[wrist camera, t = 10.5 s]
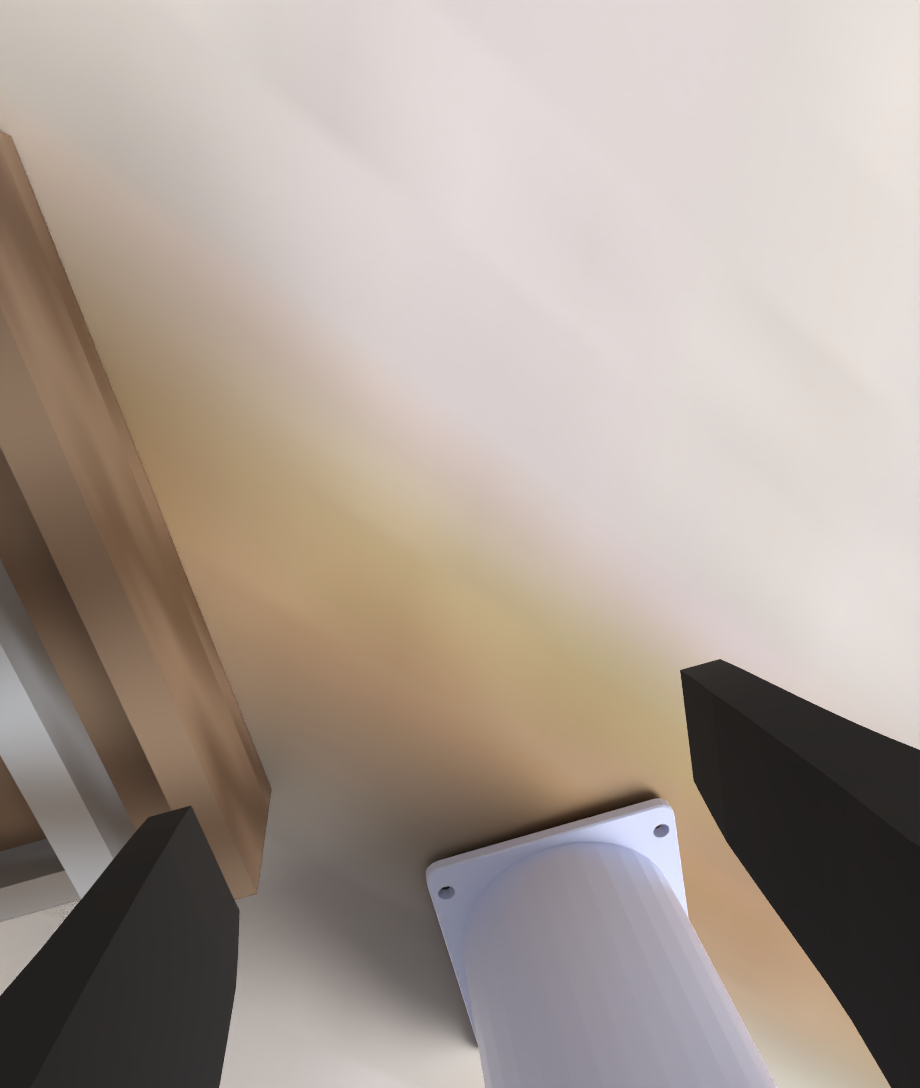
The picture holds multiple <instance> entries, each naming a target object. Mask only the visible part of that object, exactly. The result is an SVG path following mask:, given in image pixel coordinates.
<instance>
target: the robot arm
mask: <svg viewBox="0 0 920 1088" xmlns="http://www.w3.org/2000/svg"><path fill="white" fill-rule="evenodd" d="M680 672H681V680H682V688H683V696H684V705H685V713H686V721H687V729H688V737H689V745H690V754H691V762H692V770H693V778H694V782H695V784H696V786H697V788H698V790H699V792H700V794H701V795H702V797H703V799H704V801H705V803H706V805H707V807H708V809H709V811H710V812H711V814H712V816H713V818H714V820H715V822H716V823H717V825H718V827H719V829H720V831H721V832H722V834H723V836H724V838H725V839H726V841H727V843H728V844H729V846H730V847H731V849H732V850H733V852H734V853H735V855H736V856H737V857H738V859H739V860H740V862H741V863H742V865H743V866H744V867H745V869H746V870H747V872H748V873H749V874H750V876H751V877H752V879H753V880H754V882H755V883H756V884H757V886H758V887H759V889H760V890H761V892H762V893H763V894H764V896H765V897H766V899H767V900H768V901H769V903H770V904H771V906H772V907H773V908H774V910H775V911H776V913H777V914H778V915H779V917H780V918H781V919H782V921H783V922H784V924H785V925H786V926H787V928H788V929H789V931H790V932H791V933H792V935H793V936H794V938H795V939H796V940H797V942H798V943H799V945H800V946H801V947H802V949H803V950H804V952H805V953H806V955H807V956H808V957H809V959H810V960H811V962H812V963H813V964H814V966H815V967H816V969H817V970H818V971H819V973H820V974H821V976H822V977H823V978H824V980H825V981H826V983H827V984H828V985H829V987H830V988H831V990H832V991H833V993H834V994H835V996H836V997H837V999H838V1001H839V1002H840V1004H841V1005H842V1007H843V1008H844V1010H845V1011H846V1013H847V1014H848V1016H849V1017H850V1019H851V1020H852V1022H853V1024H854V1025H855V1027H856V1029H857V1030H858V1032H859V1034H860V1035H861V1037H862V1039H863V1040H864V1042H865V1044H866V1046H867V1047H868V1049H869V1051H870V1052H871V1054H872V1056H873V1057H874V1059H875V1061H876V1063H877V1064H878V1066H879V1068H880V1069H881V1071H882V1073H883V1074H884V1076H885V1078H886V1079H887V1081H888V1083H889V1085H890V1086H891V1088H920V750H918V749H916V748H913V747H911V746H908V745H906V744H903V743H901V742H898V741H896V740H894V739H891V738H889V737H886V736H884V735H881V734H879V733H877V732H875V731H872V730H870V729H868V728H865V727H863V726H861V725H858V724H856V723H854V722H852V721H850V720H847V719H845V718H843V717H841V716H838V715H836V714H834V713H832V712H830V711H828V710H826V709H823V708H821V707H819V706H817V705H815V704H813V703H811V702H809V701H806V700H804V699H802V698H800V697H798V696H796V695H794V694H792V693H790V692H788V691H786V690H784V689H782V688H780V687H778V686H776V685H774V684H771V683H769V682H767V681H765V680H763V679H761V678H759V677H757V676H755V675H753V674H751V673H749V672H747V671H745V670H743V669H741V668H739V667H736V666H734V665H732V664H730V663H728V662H725V661H723V660H721V659H719V660H715V661H712V662H708V663H705V664H701V665H697V666H694V667H690V668H686V669H683V670H680ZM660 824H663V825H662V826H661V827H659V828H657V829H655V828H656V826H658V825H660ZM426 881H427V886H428V890H429V893H430V896H431V899H432V902H433V905H434V908H435V912H436V915H437V918H438V921H439V924H440V927H441V931H442V934H443V937H444V940H445V943H446V946H447V950H448V953H449V956H450V959H451V962H452V965H453V968H454V972H455V975H456V978H457V981H458V984H459V987H460V991H461V994H462V997H463V1000H464V1003H465V1006H466V1010H467V1013H468V1016H469V1019H470V1022H471V1025H472V1028H473V1032H474V1035H475V1038H476V1041H477V1044H478V1047H479V1053H480V1059H481V1065H482V1071H483V1077H484V1082H485V1088H778V1087H777V1085H776V1083H775V1081H774V1079H773V1078H772V1076H771V1074H770V1072H769V1070H768V1068H767V1066H766V1064H765V1062H764V1061H763V1059H762V1057H761V1055H760V1053H759V1051H758V1049H757V1047H756V1045H755V1044H754V1042H753V1040H752V1038H751V1036H750V1034H749V1032H748V1030H747V1028H746V1026H745V1025H744V1023H743V1021H742V1019H741V1017H740V1015H739V1013H738V1011H737V1009H736V1008H735V1006H734V1004H733V1002H732V1000H731V998H730V996H729V994H728V992H727V991H726V989H725V987H724V985H723V983H722V981H721V979H720V977H719V975H718V973H717V972H716V970H715V968H714V966H713V964H712V962H711V960H710V958H709V956H708V955H707V953H706V951H705V949H704V947H703V945H702V943H701V941H700V939H699V938H698V936H697V934H696V932H695V930H694V928H693V926H692V924H691V922H690V920H689V918H688V911H687V904H686V896H685V889H684V882H683V875H682V867H681V860H680V853H679V846H678V838H677V831H676V824H675V817H674V812H673V810H672V808H671V806H670V804H669V803H668V802H667V801H666V800H664V799H660V798H657V799H651V800H648V801H644V802H641V803H638V804H634V805H631V806H627V807H624V808H620V809H617V810H613V811H610V812H606V813H603V814H599V815H596V816H592V817H589V818H585V819H582V820H578V821H575V822H571V823H568V824H564V825H561V826H557V827H554V828H550V829H547V830H543V831H540V832H536V833H533V834H529V835H526V836H522V837H519V838H515V839H512V840H508V841H505V842H501V843H498V844H494V845H491V846H487V847H484V848H480V849H477V850H473V851H470V852H466V853H463V854H459V855H456V856H452V857H449V858H445V859H442V860H438V861H436V862H434V863H432V864H431V865H430V866H429V867H428V868H427V870H426ZM447 886H449V887H450V888H448V889H444V890H442V889H441V888H443V887H447ZM238 937H239V909H238V907H237V905H236V902H235V900H234V898H233V896H232V894H231V891H230V889H229V887H228V885H227V883H226V880H225V878H224V876H223V874H222V872H221V869H220V867H219V865H218V863H217V861H216V858H215V856H214V854H213V852H212V850H211V847H210V845H209V843H208V841H207V839H206V836H205V834H204V832H203V830H202V828H201V825H200V823H199V821H198V819H197V817H196V814H195V812H194V810H193V808H192V806H187V807H183V808H180V809H176V810H172V811H169V812H165V813H162V814H158V815H154V816H151V817H148V818H147V819H146V820H145V822H144V823H143V824H142V825H141V826H140V827H139V828H138V829H137V831H136V832H135V833H134V834H133V835H132V837H131V838H130V839H129V840H128V842H127V843H126V844H125V845H124V846H123V848H122V849H121V850H120V851H119V853H118V854H117V855H116V856H115V858H114V859H113V860H112V861H111V863H110V864H109V865H108V866H107V868H106V869H105V870H104V871H103V873H102V874H101V875H100V877H99V878H98V879H97V880H96V882H95V883H94V884H93V885H92V887H91V888H90V889H89V890H88V892H87V893H86V894H85V895H84V897H83V898H82V899H81V900H80V902H79V903H78V904H77V905H76V906H75V908H74V909H73V910H72V911H71V913H70V914H69V915H68V916H67V918H66V919H65V920H64V921H63V923H62V924H61V925H60V926H59V928H58V929H57V930H56V931H55V932H54V934H53V935H52V936H51V937H50V939H49V940H48V941H47V942H46V944H45V945H44V946H43V947H42V948H41V950H40V951H39V952H38V953H37V954H36V955H35V957H34V958H33V959H32V960H31V961H30V962H29V964H28V965H27V966H26V967H25V968H24V969H23V970H22V972H21V973H20V974H19V975H18V976H17V977H16V979H15V980H14V981H13V982H12V983H11V984H10V985H9V987H8V988H7V989H6V990H5V991H4V992H3V994H2V995H1V996H0V1088H219V1085H220V1079H221V1074H222V1068H223V1062H224V1056H225V1051H226V1044H227V1038H228V1032H229V1026H230V1020H231V1014H232V1008H233V1002H234V995H235V989H236V977H237V960H238Z"/></svg>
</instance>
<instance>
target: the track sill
mask: <svg viewBox="0 0 920 1088" xmlns="http://www.w3.org/2000/svg"><path fill="white" fill-rule="evenodd" d="M270 797H271V787H270V785H269V782H268V780H267V777H266V775H265V772H264V770H263V767H262V765H261V762H260V760H259V757H258V755H257V752H256V749H255V747H254V744H253V742H252V739H251V737H250V734H249V732H248V729H247V727H246V724H245V722H244V719H243V717H242V714H241V712H240V709H239V707H238V704H237V702H236V699H235V697H234V694H233V692H232V689H231V687H230V684H229V682H228V679H227V677H226V674H225V672H224V669H223V667H222V664H221V662H220V659H219V657H218V654H217V652H216V649H215V647H214V644H213V642H212V639H211V637H210V634H209V632H208V629H207V627H206V624H205V621H204V619H203V616H202V614H201V611H200V609H199V606H198V604H197V601H196V599H195V596H194V594H193V591H192V589H191V586H190V584H189V581H188V579H187V576H186V574H185V571H184V569H183V566H182V564H181V561H180V559H179V556H178V554H177V551H176V549H175V546H174V544H173V541H172V539H171V536H170V534H169V531H168V529H167V526H166V524H165V521H164V519H163V516H162V514H161V511H160V509H159V506H158V504H157V501H156V498H155V496H154V493H153V491H152V488H151V486H150V483H149V481H148V478H147V476H146V473H145V471H144V468H143V466H142V463H141V461H140V458H139V456H138V453H137V451H136V448H135V446H134V443H133V441H132V438H131V436H130V433H129V431H128V428H127V426H126V423H125V421H124V418H123V416H122V413H121V411H120V408H119V406H118V403H117V401H116V398H115V396H114V393H113V391H112V388H111V386H110V383H109V381H108V378H107V376H106V373H105V370H104V368H103V365H102V363H101V360H100V358H99V355H98V353H97V350H96V348H95V345H94V343H93V340H92V338H91V335H90V333H89V330H88V328H87V325H86V323H85V320H84V318H83V315H82V313H81V310H80V308H79V305H78V303H77V300H76V298H75V295H74V293H73V290H72V288H71V285H70V283H69V280H68V278H67V275H66V273H65V270H64V268H63V265H62V263H61V260H60V258H59V255H58V253H57V250H56V248H55V245H54V242H53V240H52V237H51V235H50V232H49V230H48V227H47V225H46V222H45V220H44V217H43V215H42V212H41V210H40V207H39V205H38V202H37V200H36V197H35V195H34V192H33V190H32V187H31V185H30V182H29V180H28V177H27V175H26V172H25V170H24V167H23V165H22V162H21V160H20V157H19V155H18V152H17V150H16V147H15V145H14V142H13V140H12V137H11V136H9V135H7V134H4V133H2V132H0V922H2V921H6V920H9V919H13V918H16V917H20V916H23V915H27V914H30V913H34V912H38V911H41V910H45V909H48V908H52V907H55V906H59V905H62V904H66V903H70V902H73V901H77V900H80V899H82V898H83V897H84V895H85V894H86V893H87V892H88V890H89V889H90V888H91V887H92V885H93V884H94V883H95V882H96V880H97V879H98V878H99V877H100V875H101V874H102V873H103V871H104V870H105V869H106V868H107V866H108V865H109V864H110V863H111V861H112V860H113V859H114V858H115V856H116V855H117V854H118V853H119V851H120V850H121V849H122V848H123V846H124V845H125V844H126V843H127V842H128V840H129V839H130V838H131V837H132V835H133V834H134V833H135V832H136V831H137V829H138V828H139V827H140V826H141V825H142V824H143V823H144V822H145V820H146V819H147V818H148V817H151V816H154V815H158V814H162V813H165V812H169V811H172V810H176V809H180V808H183V807H187V806H192V808H193V810H194V812H195V814H196V817H197V819H198V821H199V823H200V825H201V828H202V830H203V832H204V834H205V836H206V839H207V841H208V843H209V845H210V847H211V850H212V852H213V854H214V856H215V858H216V861H217V863H218V865H219V867H220V869H221V872H222V874H223V876H224V878H225V880H226V883H227V885H228V887H229V889H230V891H231V894H232V896H233V898H234V900H236V899H240V898H243V897H247V896H250V895H254V894H257V889H258V882H259V875H260V868H261V861H262V854H263V847H264V840H265V833H266V825H267V818H268V811H269V804H270Z"/></svg>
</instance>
